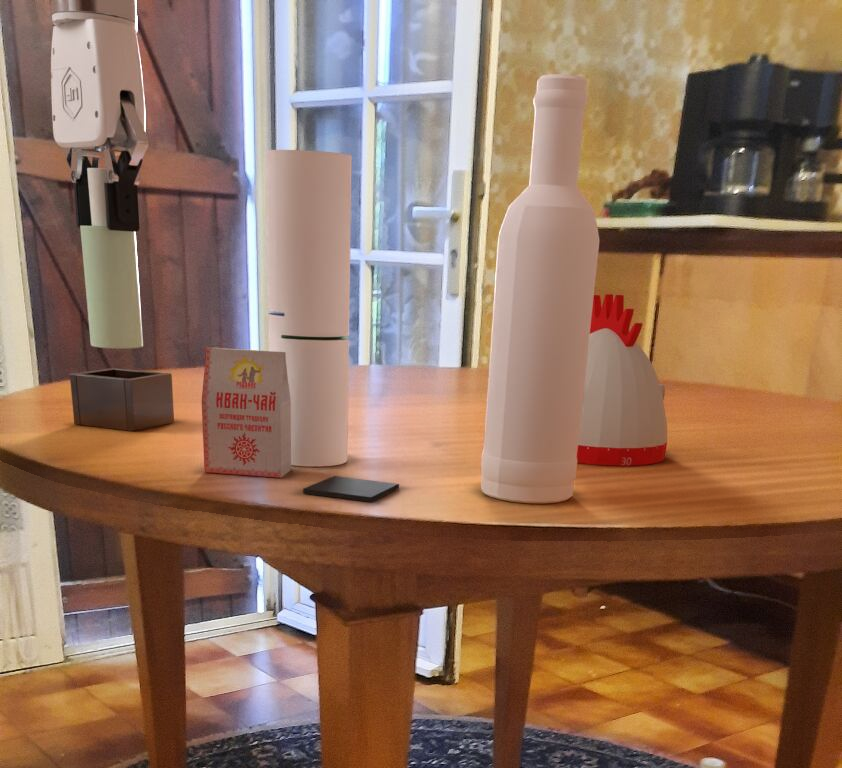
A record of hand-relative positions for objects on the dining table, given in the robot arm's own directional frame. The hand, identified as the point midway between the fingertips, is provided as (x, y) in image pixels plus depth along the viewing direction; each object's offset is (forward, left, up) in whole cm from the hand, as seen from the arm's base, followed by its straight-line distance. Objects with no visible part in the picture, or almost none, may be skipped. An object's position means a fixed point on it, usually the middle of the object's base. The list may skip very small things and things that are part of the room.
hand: (107, 227), depth 105 cm
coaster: (+34, -17, -19) cm, 43 cm away
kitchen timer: (+48, +13, -19) cm, 53 cm away
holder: (0, 0, -19) cm, 19 cm away
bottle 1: (0, 0, -11) cm, 11 cm away
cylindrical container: (+25, -7, -19) cm, 32 cm away
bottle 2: (+47, -10, -19) cm, 52 cm away
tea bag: (+23, -15, -19) cm, 33 cm away
